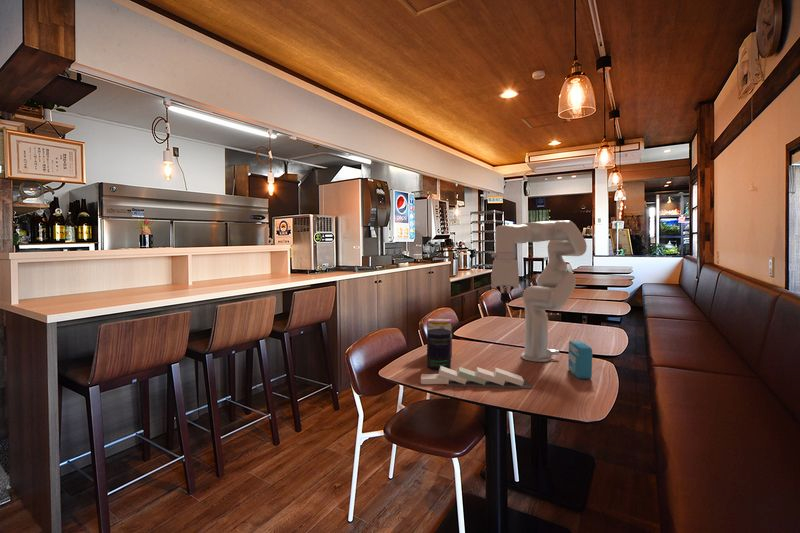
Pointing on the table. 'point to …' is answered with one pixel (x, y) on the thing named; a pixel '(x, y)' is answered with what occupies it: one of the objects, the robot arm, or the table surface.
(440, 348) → the storage jar
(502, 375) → the domino
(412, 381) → the table surface
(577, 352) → the teal box
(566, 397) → the table surface
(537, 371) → the table surface
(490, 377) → the domino
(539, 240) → the robot arm
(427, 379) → the domino
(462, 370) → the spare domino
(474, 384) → the mat
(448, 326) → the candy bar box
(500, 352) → the table surface
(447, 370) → the domino
